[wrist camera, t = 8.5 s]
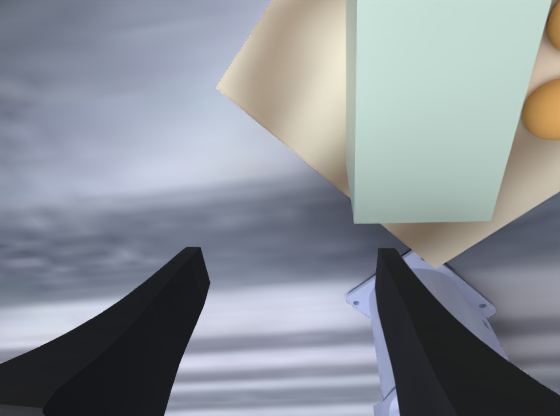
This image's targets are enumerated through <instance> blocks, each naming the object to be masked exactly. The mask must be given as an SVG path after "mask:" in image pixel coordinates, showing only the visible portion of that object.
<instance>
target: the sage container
mask: <svg viewBox="0 0 560 416" xmlns="http://www.w3.org/2000/svg"><path fill="white" fill-rule="evenodd" d="M551 1H552V0H346V167H347V175H348V182H349V189H350V197H351V204H352V211H353V219H354V224H371V223H423V222H476V221H491V219H492V215H493V212H494V208H495V204H496V201H497V197H498V193H499V190H500V186H501V183H502V179H503V175H504V172H505V168H506V164H507V161H508V157H509V154H510V150H511V146H512V143H513V139H514V135H515V132H516V128H517V125H518V121H519V117H520V114H521V110H522V106H523V103H524V99H525V96H526V92H527V88H528V85H529V81H530V77H531V74H532V70H533V67H534V63H535V59H536V56H537V52H538V49H539V45H540V41H541V38H542V34H543V30H544V27H545V23H546V20H547V16H548V12H549V9H550V5H551Z"/></svg>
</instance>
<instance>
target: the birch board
mask: <svg viewBox="0 0 560 416" xmlns="http://www.w3.org/2000/svg"><path fill="white" fill-rule="evenodd" d="M559 1H560V0H552V1H551V5H550V9H549V12H548V16H547V20H546V23H545V27H544V30H543V34H542V38H541V41H540V45H539V49H538V52H537V56H536V59H535V63H534V67H533V70H532V74H531V77H530V81H529V85H528V88H527V92H526V96H525V99H524V103H523V106H522V110H521V114H520V117H519V121H518V125H517V128H516V132H515V135H514V139H513V143H512V146H511V150H510V154H509V157H508V161H507V164H506V168H505V172H504V175H503V179H502V183H501V186H500V190H499V193H498V197H497V201H496V204H495V208H494V212H493V215H492V219H491V221H476V222H423V223H380V224H381V225H382V226H384V227H385V228H386V229H387V230H389V231H390V232H391V233H392V234H393V235H395V236H396V237H397V238H398V239H399V240H401V241H402V242H403V243H404V244H405V245H407V246H408V247H409V248H410V249H412V250H413V251H414V252H415V253H416V254H418V255H419V256H420V257H421V258H422V259H424V260H425V261H426V262H427V263H428V264H430V265H431V266H432V267H433V268H434V269H436V268H438V267H439V266H441V265H443V264H444V263H446V262H447V261H449V260H451V259H452V258H454V257H455V256H457V255H459V254H460V253H462V252H463V251H465V250H467V249H468V248H470V247H471V246H473V245H475V244H476V243H478V242H479V241H481V240H483V239H484V238H486V237H487V236H489V235H491V234H492V233H494V232H495V231H497V230H499V229H500V228H502V227H503V226H505V225H507V224H508V223H510V222H511V221H513V220H515V219H516V218H518V217H519V216H521V215H523V214H524V213H526V212H527V211H529V210H531V209H532V208H534V207H535V206H537V205H539V204H540V203H542V202H543V201H545V200H547V199H548V198H550V197H551V196H553V195H555V194H556V193H558V192H559V191H560V140H547V139H543V138H540V137H538V136H536V135H534V134H533V133H531V132H530V131H529V129H528V128H527V127H526V125H525V123H524V119H523V111H524V107H525V104H526V102H527V100H528V99H529V97H530V96H531V95H532V94H533V93H534V92H535V91H536V90H537V89H538V88H540V87H541V86H543V85H544V84H546V83H548V82H550V81H553V80H555V79H559V78H560V51H559V50H558V49H556V48H555V47H554V46H553V45H552V43H551V42H550V40H549V38H548V32H547V26H548V21H549V18H550V15H551V13H552V11H553V9H554V8H555V6H556V5H557V3H558V2H559ZM216 88H217V89H218V90H219V91H220V92H222V93H223V94H224V95H225V96H226V97H228V98H229V99H230V100H231V101H233V102H234V103H235V104H236V105H237V106H239V107H240V108H241V109H242V110H243V111H245V112H246V113H247V114H248V115H249V116H251V117H252V118H253V119H254V120H256V121H257V122H258V123H259V124H260V125H262V126H263V127H264V128H265V129H266V130H268V131H269V132H270V133H271V134H272V135H274V136H275V137H276V138H277V139H278V140H280V141H281V142H282V143H283V144H285V145H286V146H287V147H288V148H289V149H291V150H292V151H293V152H294V153H295V154H297V155H298V156H299V157H300V158H301V159H303V160H304V161H305V162H306V163H308V164H309V165H310V166H311V167H312V168H314V169H315V170H316V171H317V172H318V173H320V174H321V175H322V176H323V177H324V178H326V179H327V180H328V181H329V182H330V183H332V184H333V185H334V186H335V187H337V188H338V189H339V190H340V191H341V192H343V193H344V194H345V195H346V196H347V197H349V198H350V199H351V197H350V189H349V182H348V175H347V167H346V0H272V2H271V3H270V5H269V6H268V8H267V9H266V11H265V12H264V14H263V16H262V17H261V19H260V20H259V22H258V23H257V25H256V26H255V28H254V29H253V31H252V32H251V34H250V36H249V37H248V39H247V40H246V42H245V43H244V45H243V46H242V48H241V49H240V51H239V53H238V54H237V56H236V57H235V59H234V60H233V62H232V63H231V65H230V66H229V68H228V70H227V71H226V73H225V74H224V76H223V77H222V79H221V80H220V82H219V83H218V85H217V87H216Z"/></svg>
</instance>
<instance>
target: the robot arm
mask: <svg viewBox="0 0 560 416" xmlns="http://www.w3.org/2000/svg"><path fill="white" fill-rule="evenodd" d="M209 286H210V280H209V277H208V273H207V269H206V266H205V262H204V258H203V255H202V251H201V247H186V248H185V249H183V250H182V251H181V252H180V253H178V254H177V255H176V256H175V257H174V258H173V259H171V260H170V261H169V262H168V263H167V264H165V265H164V266H163V267H162V268H161V269H160V270H158V271H157V272H156V273H155V274H154V275H152V276H151V277H150V278H149V279H148V280H146V281H145V282H144V283H142V284H141V285H140V286H138V287H137V288H136V289H135V290H133V291H132V292H131V293H129V294H128V295H127V296H125V297H124V298H123V299H121V300H120V301H118V302H117V303H116V304H114V305H113V306H111V307H109V308H108V309H106V310H105V311H103V312H102V313H100V314H99V315H97V316H95V317H94V318H92V319H90V320H88V321H87V322H85V323H83V324H82V325H80V326H78V327H76V328H75V329H73V330H71V331H69V332H67V333H66V334H64V335H62V336H60V337H58V338H56V339H54V340H52V341H50V342H48V343H46V344H44V345H42V346H40V347H38V348H35V349H33V350H31V351H29V352H27V353H24V354H22V355H20V356H17V357H15V358H13V359H11V360H8V361H6V362H4V363H1V364H0V416H164V414H165V410H166V407H167V403H168V400H169V396H170V393H171V389H172V386H173V383H174V380H175V377H176V373H177V370H178V367H179V364H180V362H181V359H182V356H183V354H184V351H185V349H186V347H187V344H188V342H189V340H190V337H191V335H192V333H193V330H194V328H195V326H196V323H197V321H198V319H199V316H200V314H201V311H202V309H203V307H204V304H205V300H206V297H207V293H208V289H209ZM346 301H347V302H348V303H349V304H351V305H352V306H353V307H355V308H356V309H358V310H359V311H360V312H362V313H363V314H365V315H366V316H367V317H369V318H370V319H371V323H372V330H373V336H374V343H375V350H376V357H377V363H378V370H379V377H380V383H381V390H382V397H383V402H381V403H380V404H377V405H374V406H373V407H374V416H560V395H558V394H557V393H555V392H554V391H552V390H550V389H549V388H547V387H546V386H544V385H542V384H541V383H539V382H538V381H536V380H535V379H533V378H532V377H530V376H529V375H527V374H526V373H525V372H523V371H522V370H520V369H519V368H517V367H516V366H514V365H513V364H512V363H510V361H509V359H508V357H507V355H506V353H505V351H504V350H503V348H502V346H501V344H500V342H499V340H498V338H497V337H496V335H495V333H494V331H493V329H492V327H491V325H490V324H489V322H488V320H487V318H489V317H491V316H493V315H494V314H495V313H496V312H497V310H496V309H495V307H494V306H493V305H492V304H491V303H490V302H488V301H487V300H486V299H485V298H484V297H483V296H481V295H480V294H479V293H478V292H477V291H475V290H474V289H473V288H472V287H471V286H469V285H468V284H467V283H466V282H465V281H464V280H462V279H461V278H460V277H459V276H458V275H456V274H455V273H454V272H453V271H452V270H450V269H449V268H448V267H447V266H446V265H445V264H443V265H441V266H439V267H438V268H436V269H434V268H433V267H432V266H431V265H430V264H428V263H427V262H426V261H425V260H424V259H422V258H421V257H420V256H419V255H418V254H416V253H415V252H414V251H413V250H411V251H410V252H408V253H407V254H405V255H404V256H401V255H400V254H399V252H398V251H397V250H396V249H391V248H378V258H377V268H376V275H375V276H373V277H372V278H370V279H369V280H368V281H366V282H365V283H363V284H362V285H360V286H359V287H357V288H356V289H354V290H353V291H352V292H350V293H349V294H347V295H346ZM355 301H358V302H355Z"/></svg>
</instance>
